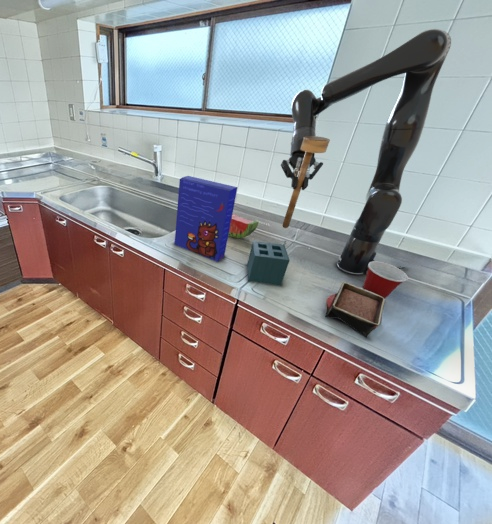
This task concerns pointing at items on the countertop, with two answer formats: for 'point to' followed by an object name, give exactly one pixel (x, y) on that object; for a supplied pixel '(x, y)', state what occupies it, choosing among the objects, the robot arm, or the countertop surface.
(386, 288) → the plastic cup
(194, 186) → the cereal box
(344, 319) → the baking dish
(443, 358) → the countertop surface
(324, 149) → the wooden mallet
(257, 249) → the holder
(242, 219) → the fruit slice
